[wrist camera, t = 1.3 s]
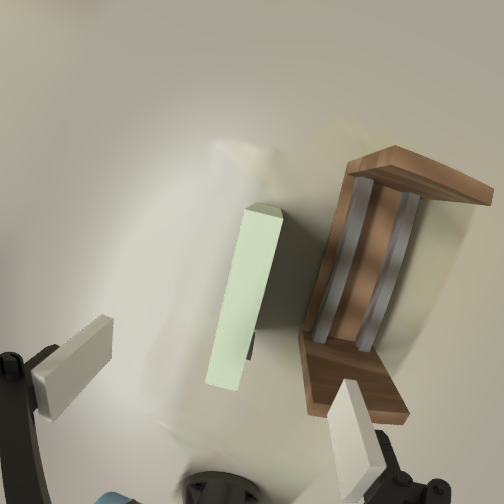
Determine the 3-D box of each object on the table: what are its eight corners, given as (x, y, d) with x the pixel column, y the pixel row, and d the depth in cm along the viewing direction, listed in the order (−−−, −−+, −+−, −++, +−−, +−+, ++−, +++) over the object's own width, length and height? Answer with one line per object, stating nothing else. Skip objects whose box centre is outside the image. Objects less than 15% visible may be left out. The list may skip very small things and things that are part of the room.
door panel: (253, 330, 41) (243, 392, 27) (226, 323, 41) (205, 382, 27) (285, 209, 38) (291, 220, 24) (256, 202, 38) (244, 209, 24)
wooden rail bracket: (366, 351, 40) (403, 425, 25) (298, 337, 40) (307, 415, 25) (419, 186, 36) (494, 188, 20) (347, 162, 36) (395, 145, 20)
